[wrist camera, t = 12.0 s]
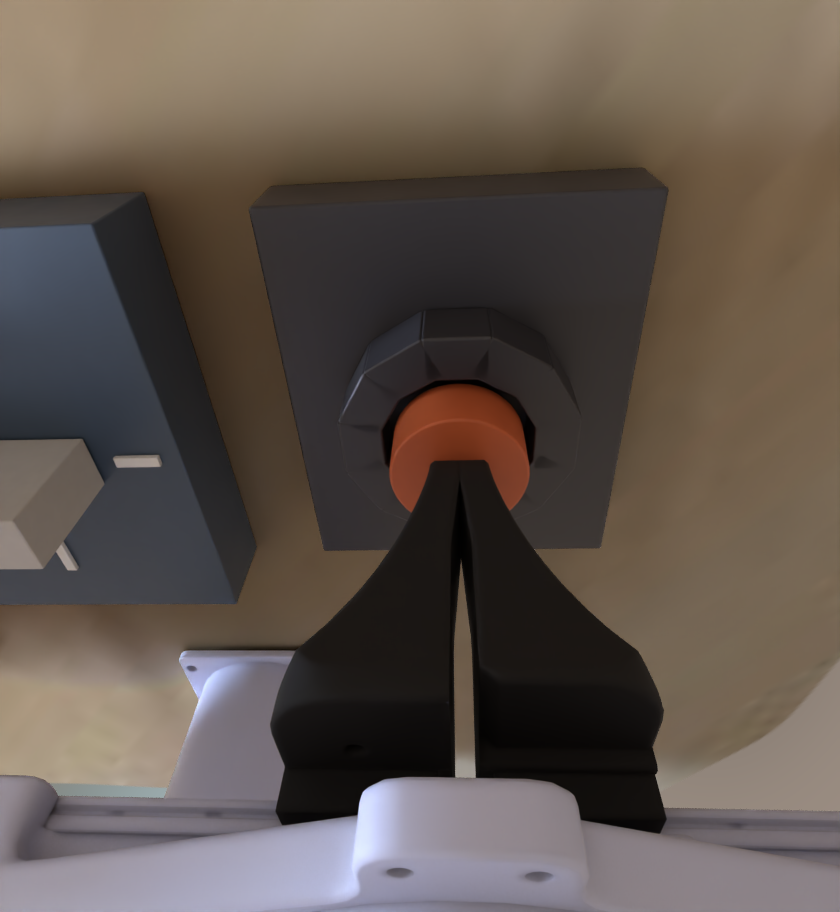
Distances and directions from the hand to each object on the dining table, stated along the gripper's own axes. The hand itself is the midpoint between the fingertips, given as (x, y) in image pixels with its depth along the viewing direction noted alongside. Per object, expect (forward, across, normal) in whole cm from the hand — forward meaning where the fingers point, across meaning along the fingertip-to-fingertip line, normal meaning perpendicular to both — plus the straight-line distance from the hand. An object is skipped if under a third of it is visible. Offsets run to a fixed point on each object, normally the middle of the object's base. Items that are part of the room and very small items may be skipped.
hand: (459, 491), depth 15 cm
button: (+2, 0, 0) cm, 2 cm away
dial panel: (+6, +14, +1) cm, 15 cm away
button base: (+6, 0, 0) cm, 6 cm away
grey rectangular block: (+3, +14, +1) cm, 14 cm away
